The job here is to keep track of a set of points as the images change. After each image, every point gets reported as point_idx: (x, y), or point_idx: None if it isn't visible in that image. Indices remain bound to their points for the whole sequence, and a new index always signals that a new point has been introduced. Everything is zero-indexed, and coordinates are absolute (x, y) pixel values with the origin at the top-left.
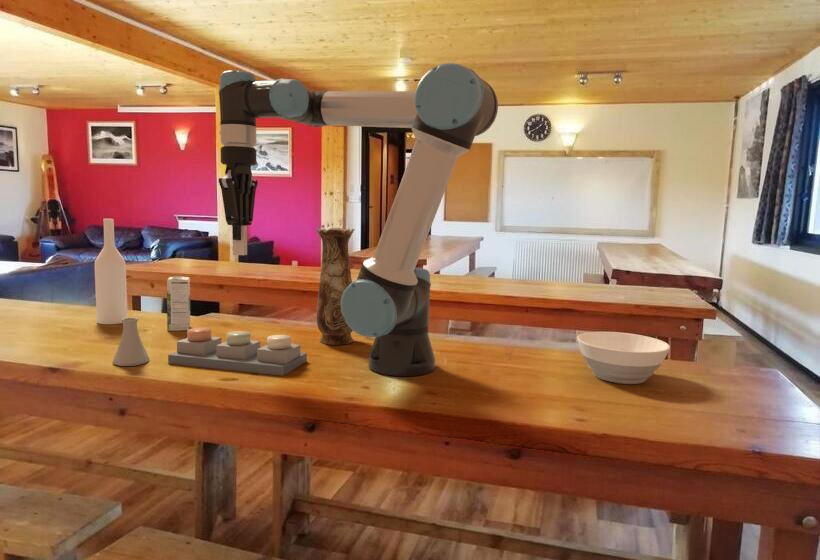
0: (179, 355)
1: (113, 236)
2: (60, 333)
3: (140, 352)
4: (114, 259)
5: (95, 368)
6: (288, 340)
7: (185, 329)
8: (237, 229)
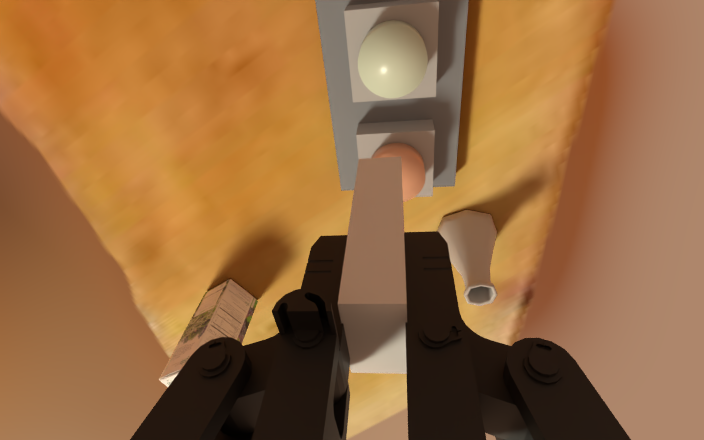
0: (452, 164)
1: None
2: (353, 386)
3: (473, 228)
4: None
5: (514, 255)
6: None
7: (234, 283)
8: (454, 300)
